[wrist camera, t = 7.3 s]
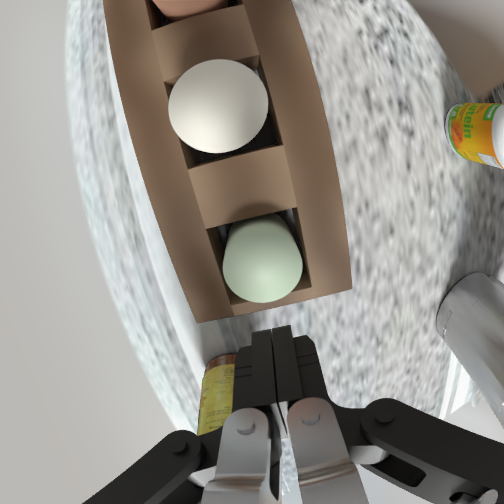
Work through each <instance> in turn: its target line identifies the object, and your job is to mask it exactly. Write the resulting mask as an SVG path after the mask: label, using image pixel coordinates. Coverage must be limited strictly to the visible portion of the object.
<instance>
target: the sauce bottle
mask: <svg viewBox="0 0 504 504" xmlns="http://www.w3.org/2000/svg"><path fill="white" fill-rule="evenodd" d="M236 355H237V354H225V355H221V356H218V357H217V358H214V359H213V360H211V361H210V362H209V363H208V365H207V368H206V369H205V374H204V377H203V380H202V390H201V399H200V409H199V418H198V430H197V436H199V435H202V434H205V433H208V432H211V431H214V430H216V429H218V428H220V427H221V426H223V425H224V422H225V420H226V419H227V417H228V416H229V415H230V414H231V412H232V400H233V382H234V370H235V369H234V365H235V357H236Z"/></svg>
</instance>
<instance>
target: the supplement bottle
mask: <svg viewBox="0 0 504 504" xmlns="http://www.w3.org/2000/svg"><path fill="white" fill-rule="evenodd" d="M445 129H446V136H447V140H448V142H449V145H450V147H451V148H452V150H453V151H454V152H455V153H456V154H457V155H458V156H460V157H461V158H464V159H467V160H471V161H475V162H479V163H483V164H486V165H490V166H494V167H497V168H501V169H504V104H496V103H459V104H456V105H454V106H453V107H452V108H451V109H450V110H449V112H448V114H447V117H446V123H445Z"/></svg>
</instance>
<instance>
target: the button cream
mask: <svg viewBox="0 0 504 504" xmlns="http://www.w3.org/2000/svg"><path fill="white" fill-rule="evenodd" d="M168 111H169V118H170V122H171V124H172V127H173V129H174V131H175V132H176V133H177V135H178V136H179V137H180V138H181V139H182V140H183V141H184V142H185V143H186V144H188V145H190V146H191V147H193V148H195V149H197V150H200V151H204V152H209V153H223V152H228V151H232V150H235V149H237V148H240V147H242V146H243V145H245V144H247V143H248V142H249V141H250V140H252V139H253V138H254V137H255V136H256V135H257V133H258V132H259V131H260V129H261V128H262V126H263V124H264V122H265V119H266V116H267V112H268V97H267V92H266V89H265V87H264V85H263V83H262V81H261V80H260V78H259V77H258V76H257V75H256V74H255V73H254V72H253V71H252V70H251V69H250V68H248V67H246V66H245V65H243V64H241V63H238V62H235V61H232V60H225V59H216V60H209V61H205V62H202V63H199V64H197V65H195V66H193V67H192V68H190V69H189V70H187V71H186V72H185V73H184V74H183V75H182V76H181V77H180V78H179V79H178V81H177V82H176V84H175V85H174V87H173V89H172V92H171V94H170V98H169V105H168Z"/></svg>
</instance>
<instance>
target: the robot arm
mask: <svg viewBox="0 0 504 504" xmlns="http://www.w3.org/2000/svg"><path fill="white" fill-rule="evenodd" d="M436 327H437V331H438V333H439V334H440V336H441V337H442V338H443V340H444V341H445V342H446V343H447V345H448V346H449V347H450V349H451V350H452V351H453V353H454V354H455V356H456V357H457V358H458V360H459V361H460V363H461V364H462V365H463V367H464V368H465V370H466V371H467V372H468V374H469V375H470V377H471V378H472V380H473V381H474V383H475V384H476V386H477V387H478V389H479V390H480V392H481V393H482V395H483V396H484V398H485V399H486V401H487V402H488V404H489V405H490V407H491V409H492V410H493V412H494V414H495V415H496V417H497V418H498V420H499V422H500V423H501V425H502V427H503V428H504V284H503V283H502V282H501V281H500V280H498V279H497V278H496V277H495V276H493V275H492V276H489V277H488V276H486V275H485V274H483V273H480V272H477V273H472V274H470V275H467V276H466V277H464V278H463V279H461V280H460V281H459V282H458V283H457V284H456V285H455V286H454V287H453V288H452V289H451V290H450V292H449V293H448V295H447V296H446V297H445V299H444V301H443V303H442V304H441V307H440V309H439V312H438V315H437V320H436ZM234 369H235V370H234V382H233V400H232V412H231V414H230V415H229V416H228V417H227V419H226V420H225V422H224V425H223V426H221V427H220V428H218V429H216V430H214V431H211V432H208V433H205V434H202V435H199V436H197V435H196V434H194V433H193V432H191V431H187V430H178V431H174V432H172V433H170V434H168V435H167V436H166V437H165V438H164V439H162V440H161V441H160V442H159V443H158V444H157V445H155V446H154V447H153V448H152V449H151V450H150V451H148V452H147V453H146V454H145V455H144V456H143V457H141V458H140V459H139V460H138V461H137V462H135V463H134V464H133V465H132V466H131V467H129V468H128V469H127V470H126V471H125V472H123V473H122V474H121V475H120V476H118V477H117V478H116V479H114V480H113V481H112V482H110V483H109V484H108V485H107V486H105V487H104V488H103V489H101V490H100V491H99V492H97V493H96V494H95V495H93V496H92V497H91V498H89V499H88V500H86V501H85V502H84V503H82V504H282V502H281V501H282V500H281V498H282V447H281V439H284V438H288V436H287V431H288V434H289V437H290V438H291V443H292V448H293V453H294V458H295V462H296V467H297V472H298V482H299V487H300V492H301V497H302V502H303V504H369V502H368V499H367V496H366V493H365V491H364V487H363V484H362V481H361V478H360V475H359V473H358V470H357V468H356V465H355V464H360V465H361V466H362V467H364V468H366V469H367V470H369V471H371V472H373V473H374V474H376V475H378V476H380V477H382V478H383V479H385V480H387V481H389V482H391V483H392V484H395V485H396V486H398V487H400V488H402V489H404V490H406V491H408V492H410V493H412V494H414V495H416V496H419V497H421V498H423V499H425V500H427V501H429V502H431V503H434V504H504V444H503V443H500V442H497V441H495V440H492V439H489V438H486V437H483V436H481V435H478V434H476V433H473V432H470V431H468V430H465V429H463V428H460V427H458V426H455V425H452V424H450V423H448V422H445V421H443V420H441V419H438V418H436V417H433V416H431V415H429V414H427V413H424V412H422V411H420V410H417V409H415V408H413V407H411V406H409V405H406V404H404V403H402V402H400V401H398V400H395V399H391V398H382V399H378V400H375V401H373V402H371V403H370V404H369V405H368V406H367V407H366V408H344V407H341V406H338V405H336V404H335V403H334V402H332V401H331V399H330V398H329V396H328V394H327V390H326V386H325V382H324V378H323V374H322V370H321V366H320V363H319V359H318V355H317V351H316V347H315V344H314V342H313V341H312V340H311V339H310V338H309V337H308V336H307V335H303V336H299V337H294V338H293V335H292V330H291V326H290V325H287V326H282V327H277V328H272V331H271V329H267V330H262V331H257V332H252V346H247V347H241V348H240V350H239V352H238V353H237V355H236V357H235V365H234Z"/></svg>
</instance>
